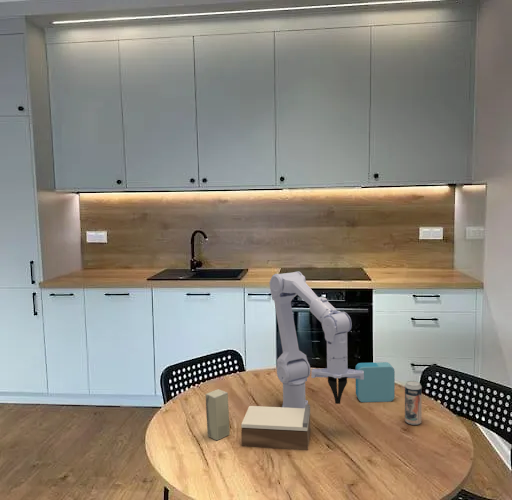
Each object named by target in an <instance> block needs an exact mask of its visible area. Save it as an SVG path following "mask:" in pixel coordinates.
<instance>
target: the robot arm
mask: <svg viewBox="0 0 512 500" xmlns="http://www.w3.org/2000/svg"><path fill="white" fill-rule="evenodd" d="M268 283H269V289H270V294H271V300H272V301H274V302H273V303H274V307H275V313H276V314H275V315H276V319H277V320H276V321H277V325H278V330H279V331H278V332H279V337H280V343H281V348H282V349H281V350H282V353H281V354H280V355H279V357H278V358H277V359H276V375H277V379H278V380H279V381H280V382H281V383H282V401H283V402H282V405H281V407H285V408H305V406H306V405H309V400H306V382H308V378H309V377H310V376H311V378H312V379H315V378H327V383H328V385H329V388H330V390H331V392H332V395H333V398H334V402H335V403H334V404H335V405H336V404H337V405H339V404H341V400H342V395H343V392H344V390H345V388H346V386H347V384H348V379H356V378H357V379H361V380H364V371H361V370H355V369H351V368H348V366H349V365H348V332H350V331H351V330H352V328H353V327H352V326H353V325H352V323H353V322H352V319H351V317H350V315H349V314H348V313H347V312H345V311H340V310H338V309H336V307H334V306H333V305H332V304H331V303H330V302H329V301H328V298H326V297H323V296H320V297H319V296H318V295H317V294H316V293H315V292H314V290H312V288H311V287H310V286H309V284H307V281H306V276H305V275H303V273H302V272H301V271H294V272H286V273H274V274H273V275H272V276H271V278H270V281H269V282H268ZM296 296H298V297H299V298H300V299H302V300H303V302H305V303H307V304H308V305H309V311H310V313H311V314H312V315H314V317H315V318H316V319H317V320H318V321H319V322H320V324H321V327H322V331H323V333H324V339H325V341H326V367H325V368H312V369H311V365H310V362H309V361H308V357H307V354H305V353H304V352H303V351H301V350H300V348H299V342H298V336H297V331H296V325H295V320H294V314H293V307H292V300H293V299H294V298H295V297H296Z"/></svg>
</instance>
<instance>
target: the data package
mask: <svg viewBox="0 0 512 500" xmlns="http://www.w3.org/2000/svg"><path fill="white" fill-rule="evenodd" d="M354 370H361V371H364V380H361V379H357V378H355V395H356V397H357V399H358V400H359V402H361V403H380V402H381V403H383V402H384V403H385V402H387V403H389V402H392V401H394V399H395V397H396V396H395V392H396V391H395V368H394V367H393V366H392V365H391V363H390V362H387V361H385V362H382V361H381V362H380V361H379V362H377V361H376V362H358V363H357V364H356V365H355V369H354Z"/></svg>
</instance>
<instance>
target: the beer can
mask: <svg viewBox="0 0 512 500" xmlns="http://www.w3.org/2000/svg"><path fill="white" fill-rule="evenodd" d="M422 388H423V387H422V385H421V383H420V382H418V381H415V380H409V381H406V383H405V385H404V421H405V423H406V424H409V425H411V426H418V425H420V424H422V423H423V422H422V397H423V396H422V395H423V394H422V390H423V389H422Z"/></svg>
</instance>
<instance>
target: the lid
mask: <svg viewBox="0 0 512 500" xmlns="http://www.w3.org/2000/svg"><path fill="white" fill-rule="evenodd" d="M309 416H310V417H311V405H310V404H307V405H306V406H305V408H285V407H282V406H281V407H280V406H262V405H261V406H259V405H249V406H248V408H247V410H246V412H245V415H244V417H243V419H242V422H241V424H240V425H241V429H242V428H258V429H277V430H295V431H307V430H308V423H309Z"/></svg>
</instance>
